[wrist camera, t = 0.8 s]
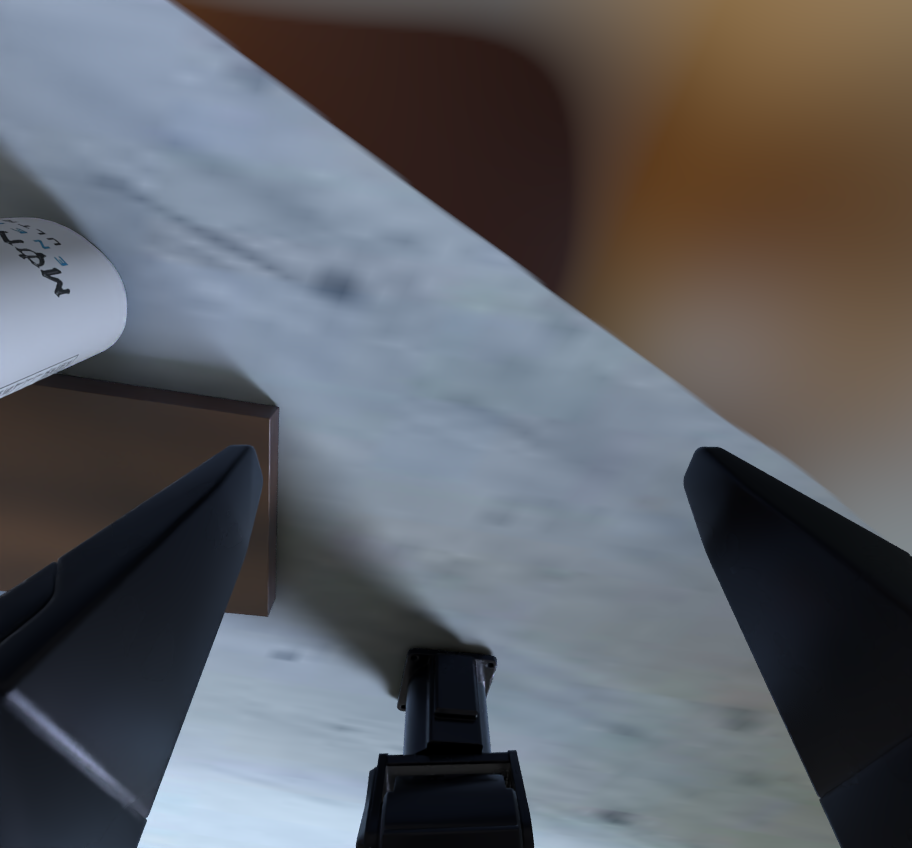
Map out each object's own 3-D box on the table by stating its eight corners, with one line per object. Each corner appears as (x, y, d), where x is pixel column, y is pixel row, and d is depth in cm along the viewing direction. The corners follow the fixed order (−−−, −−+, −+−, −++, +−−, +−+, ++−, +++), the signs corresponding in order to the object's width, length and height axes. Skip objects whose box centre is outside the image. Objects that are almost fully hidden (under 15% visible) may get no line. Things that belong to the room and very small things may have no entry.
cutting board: (275, 598, 30) (268, 617, 29) (-62, 564, 28) (-87, 582, 27) (279, 406, 24) (270, 418, 23) (-149, 343, 22) (-188, 352, 21)
